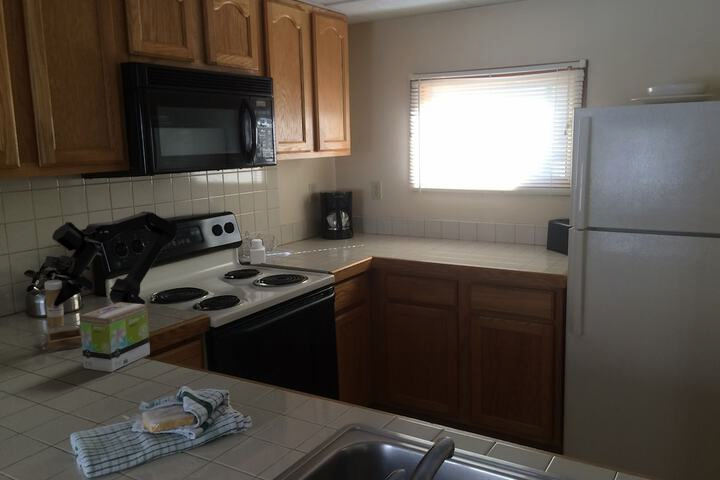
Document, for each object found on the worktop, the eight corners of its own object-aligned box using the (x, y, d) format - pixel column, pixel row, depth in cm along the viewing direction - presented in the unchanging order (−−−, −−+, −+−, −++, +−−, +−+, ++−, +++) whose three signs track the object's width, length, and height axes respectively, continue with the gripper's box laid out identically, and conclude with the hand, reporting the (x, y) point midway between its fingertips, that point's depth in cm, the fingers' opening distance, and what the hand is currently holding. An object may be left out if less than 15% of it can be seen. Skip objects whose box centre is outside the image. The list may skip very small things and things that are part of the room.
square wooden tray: (82, 336, 189) (81, 327, 189) (86, 345, 180) (85, 336, 180) (46, 342, 184) (45, 333, 184) (48, 352, 176) (47, 342, 175)
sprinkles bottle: (51, 329, 175) (48, 284, 172) (44, 325, 178) (41, 281, 175) (67, 325, 178) (64, 281, 175) (60, 321, 181) (57, 278, 178)
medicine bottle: (251, 261, 305) (250, 238, 303) (265, 261, 305) (264, 237, 304) (250, 264, 298) (249, 240, 296) (265, 263, 298) (263, 239, 297)
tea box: (113, 373, 158) (108, 317, 155) (82, 369, 161) (77, 315, 159) (151, 354, 172) (147, 303, 169) (123, 350, 175) (118, 300, 173)
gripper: (41, 242, 182) (9, 287, 174) (79, 246, 172) (46, 294, 164) (69, 262, 190) (40, 306, 182) (107, 267, 180) (77, 314, 172)
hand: (50, 304), depth 175 cm, fingers closed on sprinkles bottle, 4 cm apart
